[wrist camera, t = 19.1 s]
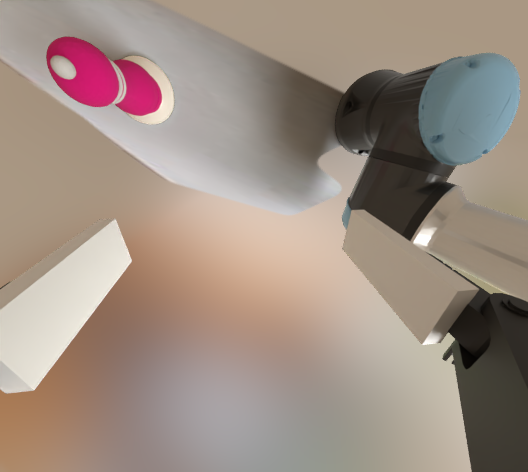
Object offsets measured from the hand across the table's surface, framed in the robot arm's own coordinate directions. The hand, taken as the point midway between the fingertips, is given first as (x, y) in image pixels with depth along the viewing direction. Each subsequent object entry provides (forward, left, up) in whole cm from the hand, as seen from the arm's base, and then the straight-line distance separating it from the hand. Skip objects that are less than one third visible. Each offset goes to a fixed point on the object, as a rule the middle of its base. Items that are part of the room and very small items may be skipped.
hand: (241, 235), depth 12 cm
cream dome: (+17, +9, -37) cm, 41 cm away
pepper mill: (+17, +9, -36) cm, 41 cm away
